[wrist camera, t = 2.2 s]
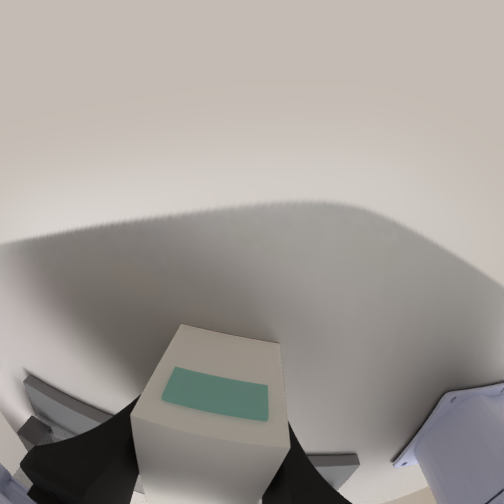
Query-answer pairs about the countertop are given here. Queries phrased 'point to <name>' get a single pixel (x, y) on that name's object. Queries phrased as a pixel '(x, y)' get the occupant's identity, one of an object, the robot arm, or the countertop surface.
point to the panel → (86, 418)
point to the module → (211, 420)
